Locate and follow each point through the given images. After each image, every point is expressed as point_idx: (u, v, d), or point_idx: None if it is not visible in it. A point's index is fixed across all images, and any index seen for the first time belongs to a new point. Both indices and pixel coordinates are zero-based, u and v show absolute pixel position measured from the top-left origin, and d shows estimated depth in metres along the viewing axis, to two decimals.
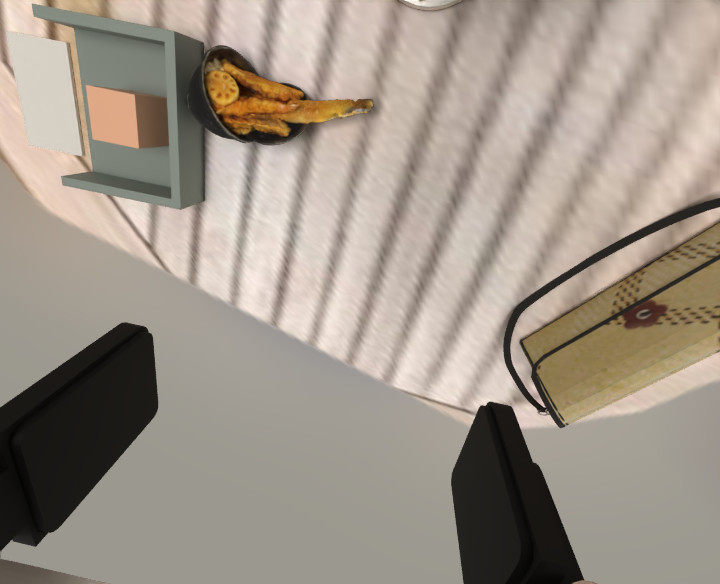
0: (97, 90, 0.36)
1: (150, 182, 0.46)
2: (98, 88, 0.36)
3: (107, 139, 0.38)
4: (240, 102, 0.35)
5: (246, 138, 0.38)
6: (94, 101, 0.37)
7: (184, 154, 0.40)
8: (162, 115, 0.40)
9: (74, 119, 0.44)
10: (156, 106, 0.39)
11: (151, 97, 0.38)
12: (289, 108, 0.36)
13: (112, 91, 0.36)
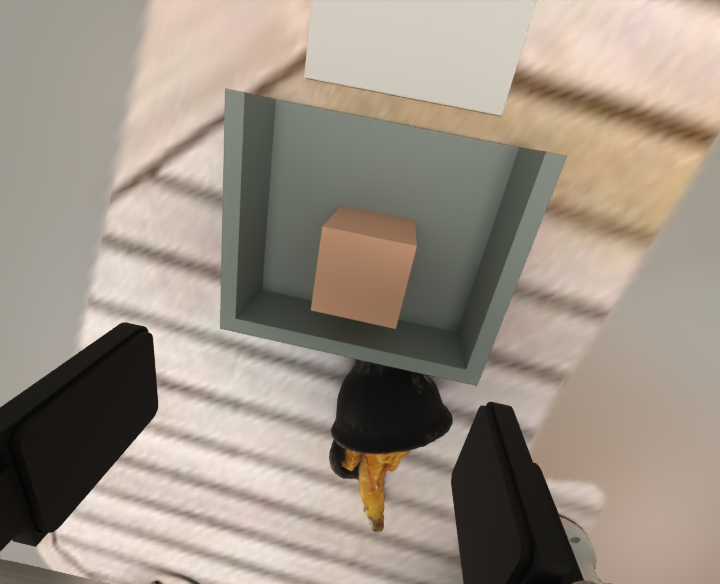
0: (406, 265, 0.19)
1: (268, 219, 0.26)
2: (409, 268, 0.19)
3: (323, 256, 0.20)
4: None
5: None
6: (388, 253, 0.19)
7: None
8: None
9: (371, 84, 0.22)
10: None
11: None
12: (373, 483, 0.29)
13: (402, 293, 0.20)
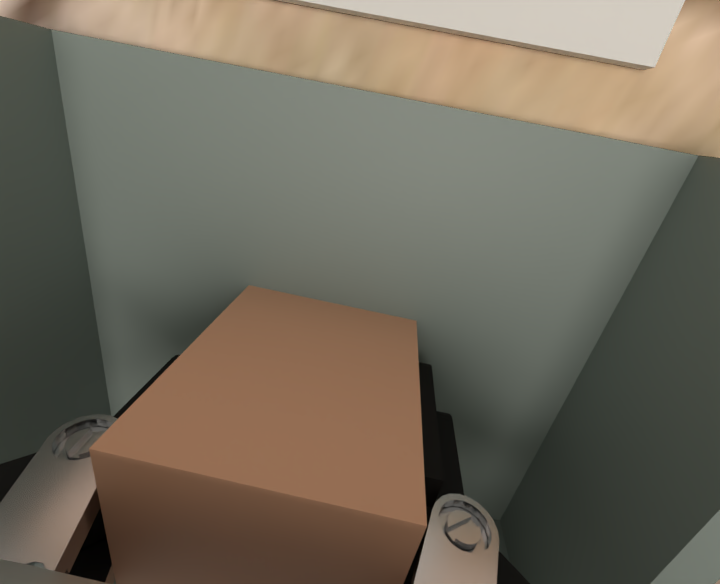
0: (389, 566, 0.06)
1: (97, 309, 0.12)
2: (400, 572, 0.06)
3: (119, 521, 0.06)
4: None
5: None
6: (327, 535, 0.06)
7: None
8: None
9: None
10: None
11: None
12: None
13: None
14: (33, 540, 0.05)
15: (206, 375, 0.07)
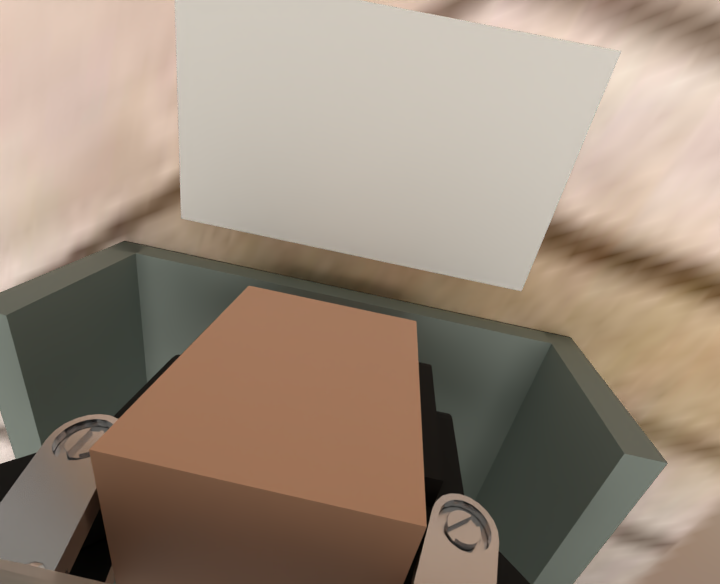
0: (389, 567, 0.06)
1: None
2: (400, 573, 0.06)
3: (119, 522, 0.06)
4: None
5: None
6: (327, 536, 0.06)
7: None
8: None
9: (296, 234, 0.13)
10: None
11: None
12: None
13: None
14: (33, 540, 0.05)
15: (206, 376, 0.07)
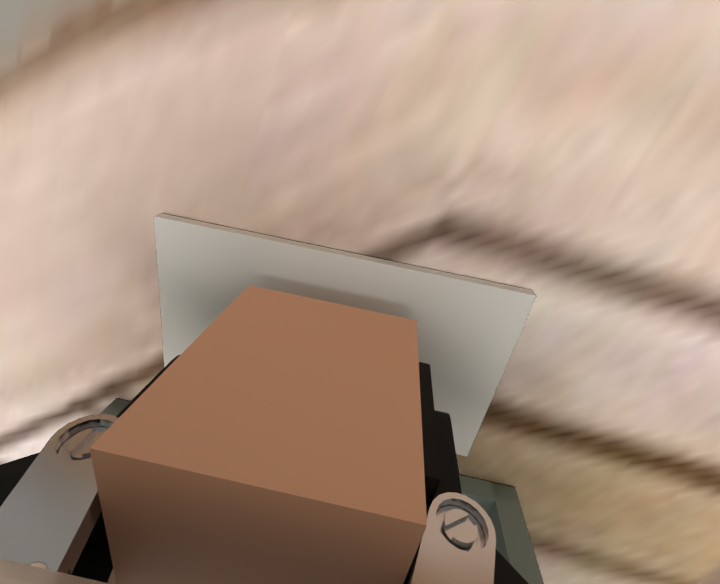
0: (389, 566, 0.06)
1: None
2: (400, 571, 0.06)
3: (119, 521, 0.06)
4: None
5: None
6: (327, 534, 0.06)
7: None
8: None
9: None
10: None
11: None
12: None
13: None
14: (37, 539, 0.05)
15: (206, 375, 0.07)
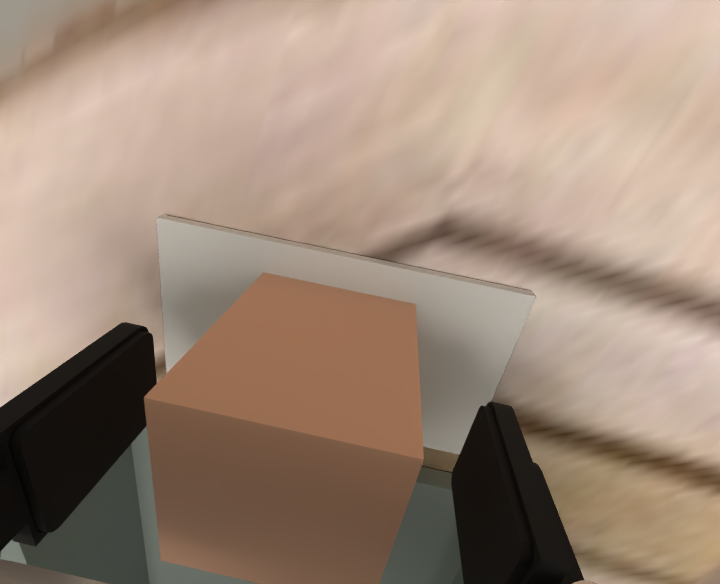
0: (393, 498, 0.07)
1: (144, 531, 0.18)
2: (402, 503, 0.07)
3: (164, 463, 0.07)
4: None
5: None
6: (341, 470, 0.07)
7: None
8: None
9: None
10: None
11: None
12: None
13: (385, 551, 0.07)
14: None
15: (233, 344, 0.08)
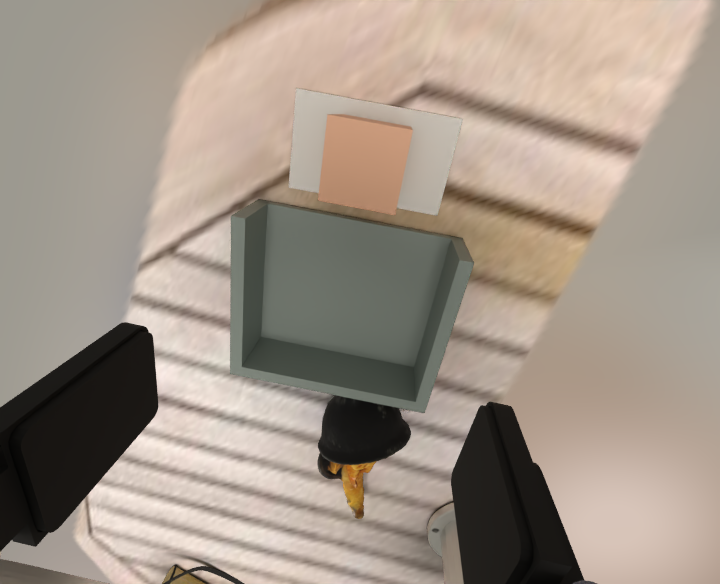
0: (403, 150, 0.22)
1: (264, 286, 0.33)
2: (406, 153, 0.22)
3: (328, 145, 0.22)
4: None
5: None
6: (387, 139, 0.21)
7: None
8: None
9: None
10: None
11: None
12: (352, 483, 0.37)
13: (401, 178, 0.22)
14: None
15: (345, 116, 0.23)
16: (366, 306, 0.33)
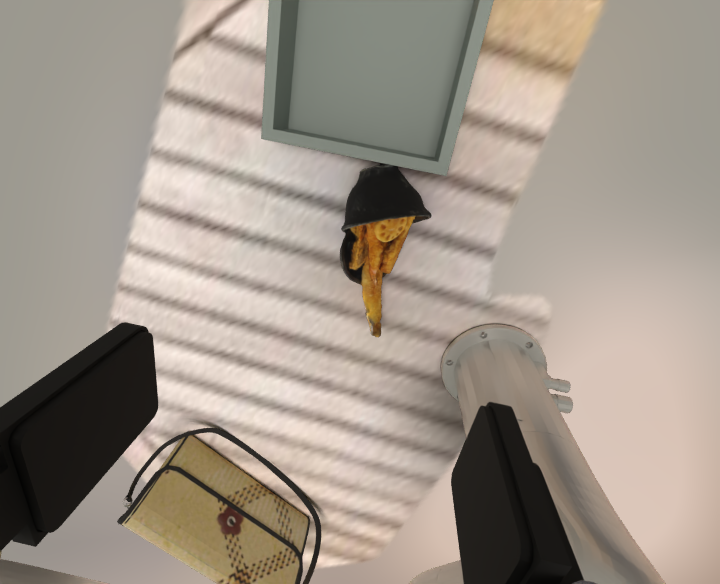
0: None
1: (294, 65, 0.35)
2: None
3: None
4: (377, 240, 0.35)
5: (346, 229, 0.37)
6: None
7: None
8: None
9: None
10: None
11: None
12: (372, 278, 0.38)
13: None
14: None
15: None
16: (391, 85, 0.34)
